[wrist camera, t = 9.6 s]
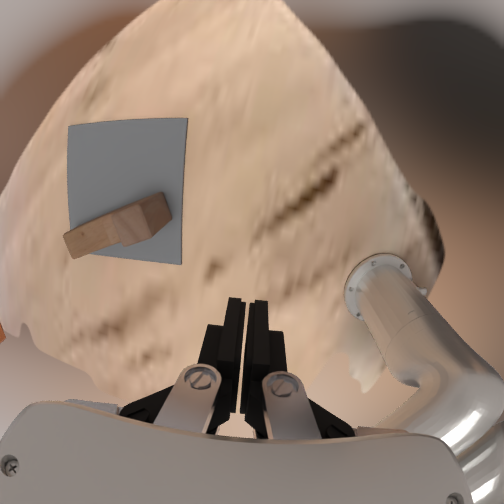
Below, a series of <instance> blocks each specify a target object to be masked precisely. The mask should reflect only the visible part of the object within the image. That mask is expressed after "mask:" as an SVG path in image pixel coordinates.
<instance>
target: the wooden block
mask: <svg viewBox="0 0 504 504" xmlns="http://www.w3.org/2000/svg"><path fill="white" fill-rule="evenodd" d="M171 220H172V216H171V213H170V210H169V208H168V205H167V202H166V199H165V196H164V194H163V192H158V193H156V194H153V195H151V196H148V197H145V198H143V199H140V200H138V201H135V202H133V203H130V204H128V205H125V206H123V207H120V208H118V209H116V210H113V211H111V212H109V213H106V214H104V215H102V216H99V217H97V218H95V219H93V220H90V221H88V222H86V223H84V224H82V225H79V226H77V227H75V228H74V229H72V230H70V231H68V232H66V233H65V234H64V235H63V238H64V240H65V243H66V245H67V248H68V250H69V252H70V255H71V257H72V259H76V258H79V257H82V256H84V255H87V254H90V253H92V252H95V251H98V250H100V249H103V248H106V247H108V246H111V245H114V244H117V243H120V242H121V243H122V245H123V247H127V246H130V245H133V244H136V243H139V242H142V241H145V240H148V239H151V238H152V237H153V236H154V235H155V234H156V233H157V232H158V231H159V230H161V229H162V228H163V227H164V226H165V225H166V224H167V223H168V222H169V221H171Z"/></svg>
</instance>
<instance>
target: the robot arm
mask: <svg viewBox="0 0 504 504" xmlns="http://www.w3.org/2000/svg"><path fill="white" fill-rule="evenodd" d="M372 261H373V262H372ZM426 293H427V289H426V288H425V287H417V286H416V285H415V284H414V283H413V282H412V274H411V271H410V269H409V267H408V265H407V264H406V263H405V262H404V261H403V260H402V259H401V258H399V257H398V256H395V255H392V254H378V255H374V256H372V257H369V258H367V259H366V260H364V261H363V262H361V263H360V264H359V265H358V266H357V267H356V268H355V269H354V270H353V271H352V273H351V274H350V276H349V278H348V280H347V282H346V285H345V289H344V300H345V303H346V306H347V308H348V310H349V312H350V313H351V314H352V315H353V316H354V317H355V318H357V319H359V320H361V321H365V323H366V325H367V327H368V328H369V330H370V332H371V334H372V336H373V338H374V340H375V342H376V344H377V346H378V348H379V350H380V352H381V354H382V356H383V359H384V361H385V363H386V365H387V367H388V369H389V370H390V372H391V374H392V375H393V376H394V378H395V379H397V380H398V381H399V382H401V383H403V384H405V385H408V386H413V387H418V388H419V389H418V390H417V392H416V393H415V394H413V395H412V396H411V397H410V398H409V399H408V400H407V401H406V402H405V403H404V404H402V405H401V406H400V407H399V408H397V409H396V410H395V411H393V412H392V413H391V414H389V415H388V416H387V417H386V418H384V419H383V420H381V421H380V422H379V423H377V424H376V425H375V426H373V427H359V426H358V427H357V429H355V428H352V427H351V426H350V425H348V424H347V423H346V422H344V421H343V420H341V419H339V418H338V417H336V416H335V415H333V414H331V413H330V412H328V411H327V410H325V409H324V408H322V407H321V406H319V405H318V404H316V403H315V402H313V401H311V400H310V399H309V398H308V397H307V395H306V392H305V389H304V386H303V383H302V382H301V380H300V379H299V378H298V377H297V376H295V375H294V374H292V373H288V372H287V363H286V354H285V344H284V334H283V331H271V330H269V324H268V301H262V300H255V303H250V306H249V316H248V325H247V334H246V343H245V352H244V365H243V378H242V391H241V404H240V413H241V414H245V421H246V422H247V423H248V424H249V425H250V426H251V427H253V436H254V439H253V438H240V437H239V438H238V437H229V436H219V435H218V432H219V427H220V425H221V424H223V423H225V422H226V421H228V420H229V418H230V413H235V412H236V403H237V393H238V383H239V373H240V363H241V353H242V341H243V330H244V319H245V308H246V302H241V298H231V297H229V300H228V305H227V310H226V315H225V321H224V326H219V325H211V324H208V326H207V330H206V333H205V337H204V341H203V344H202V348H201V352H200V356H199V359H198V363H197V364H193V365H190V366H188V367H186V368H185V369H184V370H183V371H182V372H181V373H180V375H179V377H178V379H177V381H176V383H175V384H174V385H173V386H170V387H168V388H166V389H163V390H161V391H159V392H156V393H154V394H152V395H149V396H147V397H144V398H142V399H140V400H137V401H135V402H132V403H130V404H128V405H126V406H124V407H118V405H117V404H109V403H99V402H90V401H83V400H75V399H69V400H66V401H64V402H62V401H40V402H35V403H32V404H30V405H28V406H27V407H26V408H24V409H23V410H22V411H21V412H20V413H19V415H18V416H17V417H16V418H15V419H14V421H13V422H12V423H11V425H10V426H9V428H8V429H7V431H6V432H5V434H4V435H3V437H2V439H1V441H0V504H504V421H502V422H499V423H497V424H495V422H496V421H497V420H498V418H499V417H500V415H501V414H502V412H503V410H504V381H503V379H502V378H501V376H500V375H499V373H498V372H497V371H496V370H495V369H494V368H493V367H492V366H491V365H490V364H488V362H486V361H485V360H484V359H483V358H482V357H481V356H480V355H478V354H477V353H476V352H475V351H474V350H473V349H472V348H471V347H470V346H469V345H468V344H467V343H466V342H464V340H463V339H462V338H461V337H460V336H459V335H458V334H457V333H456V332H455V330H454V329H453V328H452V327H451V326H450V325H449V324H448V322H447V321H446V320H445V319H444V318H443V317H442V316H441V315H440V313H439V312H438V311H437V310H436V309H435V308H434V307H433V305H432V304H431V303H430V302H429V301H428V300H427V299H426V298H425V297H424V295H426ZM494 424H495V425H494ZM493 425H494V426H493Z"/></svg>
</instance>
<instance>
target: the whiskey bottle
mask: <svg viewBox="0 0 504 504" xmlns="http://www.w3.org/2000/svg"><path fill="white" fill-rule="evenodd" d="M5 339H6V337H5V334H4V332H3V329H2V327H1V324H0V343H1V342H3V341H4V340H5Z"/></svg>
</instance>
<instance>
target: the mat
mask: <svg viewBox="0 0 504 504" xmlns="http://www.w3.org/2000/svg"><path fill="white" fill-rule="evenodd" d="M187 123H188V118H157V119H133V120H118V121H107V122H97V123H88V124H80V125H73V126H69V127H68V148H67V185H68V206H69V219H70V230H72V229H74V228H75V227H77V226H79V225H82V224H84V223H86V222H88V221H90V220H93V219H95V218H97V217H99V216H102V215H104V214H106V213H109V212H111V211H113V210H116V209H118V208H120V207H123V206H125V205H128V204H130V203H133V202H135V201H138V200H140V199H143V198H145V197H148V196H151V195H153V194H156V193H158V192H163V194H164V196H165V199H166V202H167V205H168V208H169V210H170V213H171V216H172V220H171V221H169V222H168V223H167V224H166V225H165V226H164V227H163V228H162V229H161V230H159V231H158V232H157V233H156V234H155V235H154V236H153V237H152V238H151V239H148V240H145V241H142V242H139V243H136V244H133V245H130V246H127V247H123V245H122V243H121V242H120V243H117V244H114V245H111V246H108V247H106V248H103V249H100V250H98V251H95V252H92V253H90V254H95V255H102V256H110V257H118V258H126V259H134V260H142V261H151V262H159V263H168V264H177V265H181V264H182V204H183V180H184V162H185V148H186V135H187Z"/></svg>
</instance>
